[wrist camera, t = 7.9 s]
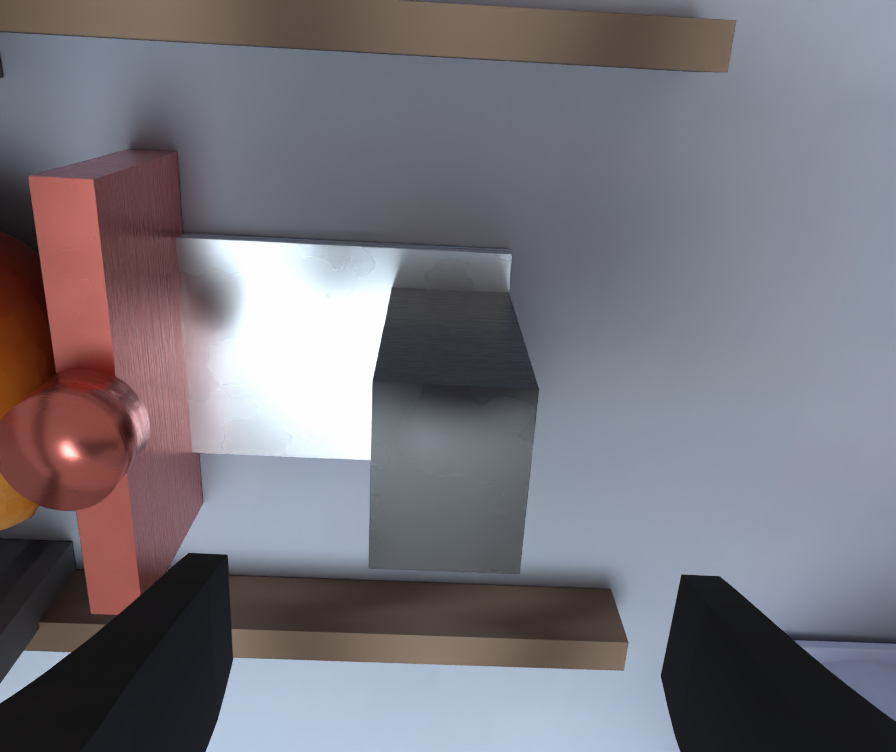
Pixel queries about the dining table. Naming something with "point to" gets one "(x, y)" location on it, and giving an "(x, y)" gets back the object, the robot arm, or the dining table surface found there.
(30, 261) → the fruit
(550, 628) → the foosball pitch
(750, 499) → the dining table surface
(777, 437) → the dining table surface
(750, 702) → the robot arm
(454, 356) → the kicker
